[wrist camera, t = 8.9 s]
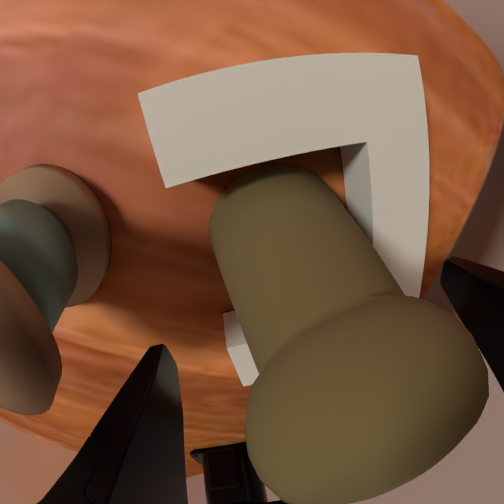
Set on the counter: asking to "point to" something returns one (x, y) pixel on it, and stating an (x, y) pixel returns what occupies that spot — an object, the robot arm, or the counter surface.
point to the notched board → (309, 143)
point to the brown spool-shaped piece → (44, 276)
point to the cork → (336, 346)
